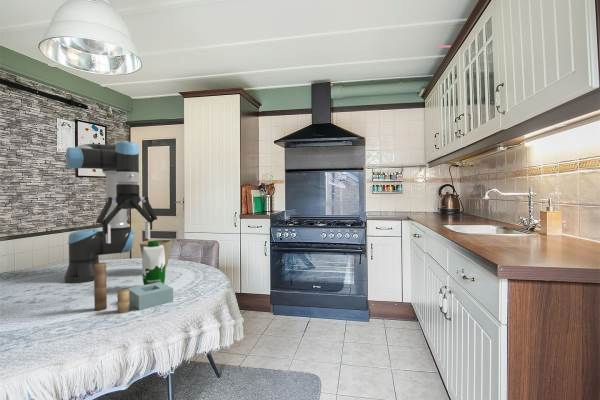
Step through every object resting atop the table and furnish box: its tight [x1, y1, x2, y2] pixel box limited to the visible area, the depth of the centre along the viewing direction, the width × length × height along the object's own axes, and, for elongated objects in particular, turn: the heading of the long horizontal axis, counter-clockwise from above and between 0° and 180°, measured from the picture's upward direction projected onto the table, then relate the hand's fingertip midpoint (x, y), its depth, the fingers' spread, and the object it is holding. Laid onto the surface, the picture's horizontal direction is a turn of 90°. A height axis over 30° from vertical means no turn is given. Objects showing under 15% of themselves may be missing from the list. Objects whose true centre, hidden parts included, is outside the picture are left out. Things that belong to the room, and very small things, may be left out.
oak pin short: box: [116, 288, 131, 314], centre depth 106 cm, size 4×4×7 cm
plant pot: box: [139, 239, 172, 271], centre depth 157 cm, size 15×15×16 cm
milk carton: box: [141, 240, 166, 285], centre depth 131 cm, size 9×9×20 cm
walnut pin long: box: [93, 262, 108, 312], centre depth 108 cm, size 4×4×16 cm
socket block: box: [127, 282, 174, 311], centre depth 116 cm, size 12×12×5 cm
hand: (128, 240), depth 115 cm, fingers open, 13 cm apart
